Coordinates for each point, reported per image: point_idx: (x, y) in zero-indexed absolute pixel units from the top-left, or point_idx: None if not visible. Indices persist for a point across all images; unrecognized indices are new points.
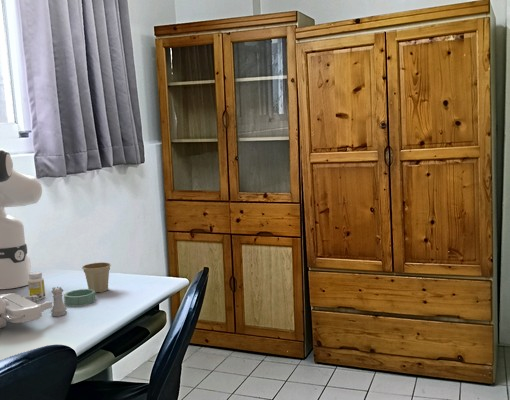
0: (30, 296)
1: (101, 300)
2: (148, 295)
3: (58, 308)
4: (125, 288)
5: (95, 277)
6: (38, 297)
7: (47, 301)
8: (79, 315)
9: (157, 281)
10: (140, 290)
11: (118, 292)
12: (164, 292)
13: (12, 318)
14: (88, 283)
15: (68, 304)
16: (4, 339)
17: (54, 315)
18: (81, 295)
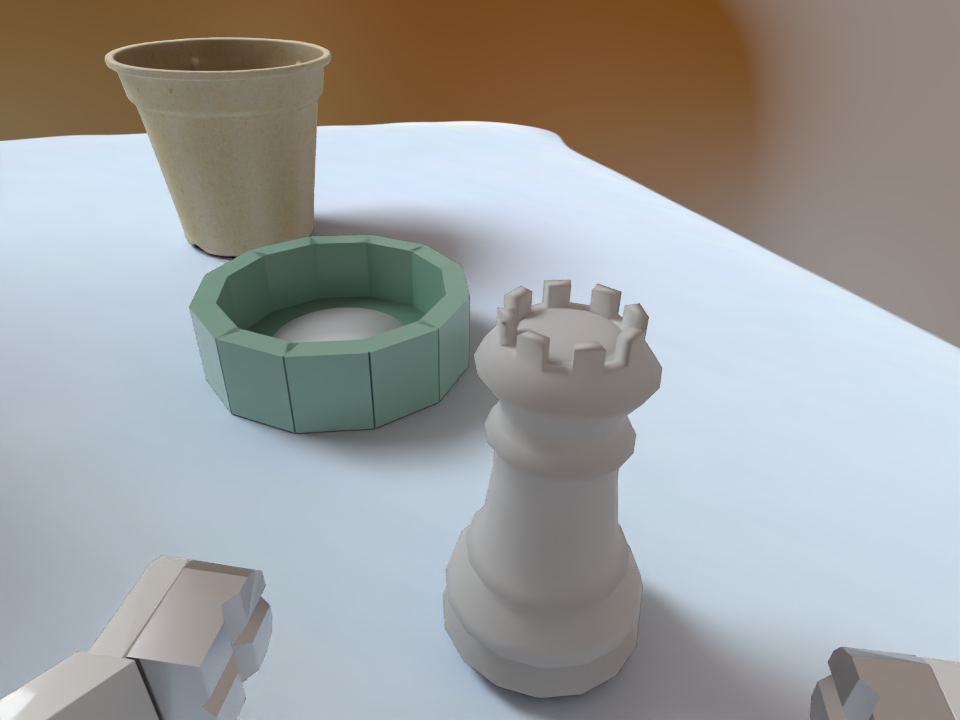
0: (100, 669)
1: (470, 300)
2: (621, 209)
3: (616, 584)
4: (382, 194)
5: (278, 141)
6: (262, 585)
7: (876, 687)
8: (759, 532)
9: (431, 142)
10: (494, 191)
11: (412, 223)
12: (634, 182)
13: None
14: (213, 195)
15: (338, 421)
16: None
17: (587, 690)
18: (274, 297)
